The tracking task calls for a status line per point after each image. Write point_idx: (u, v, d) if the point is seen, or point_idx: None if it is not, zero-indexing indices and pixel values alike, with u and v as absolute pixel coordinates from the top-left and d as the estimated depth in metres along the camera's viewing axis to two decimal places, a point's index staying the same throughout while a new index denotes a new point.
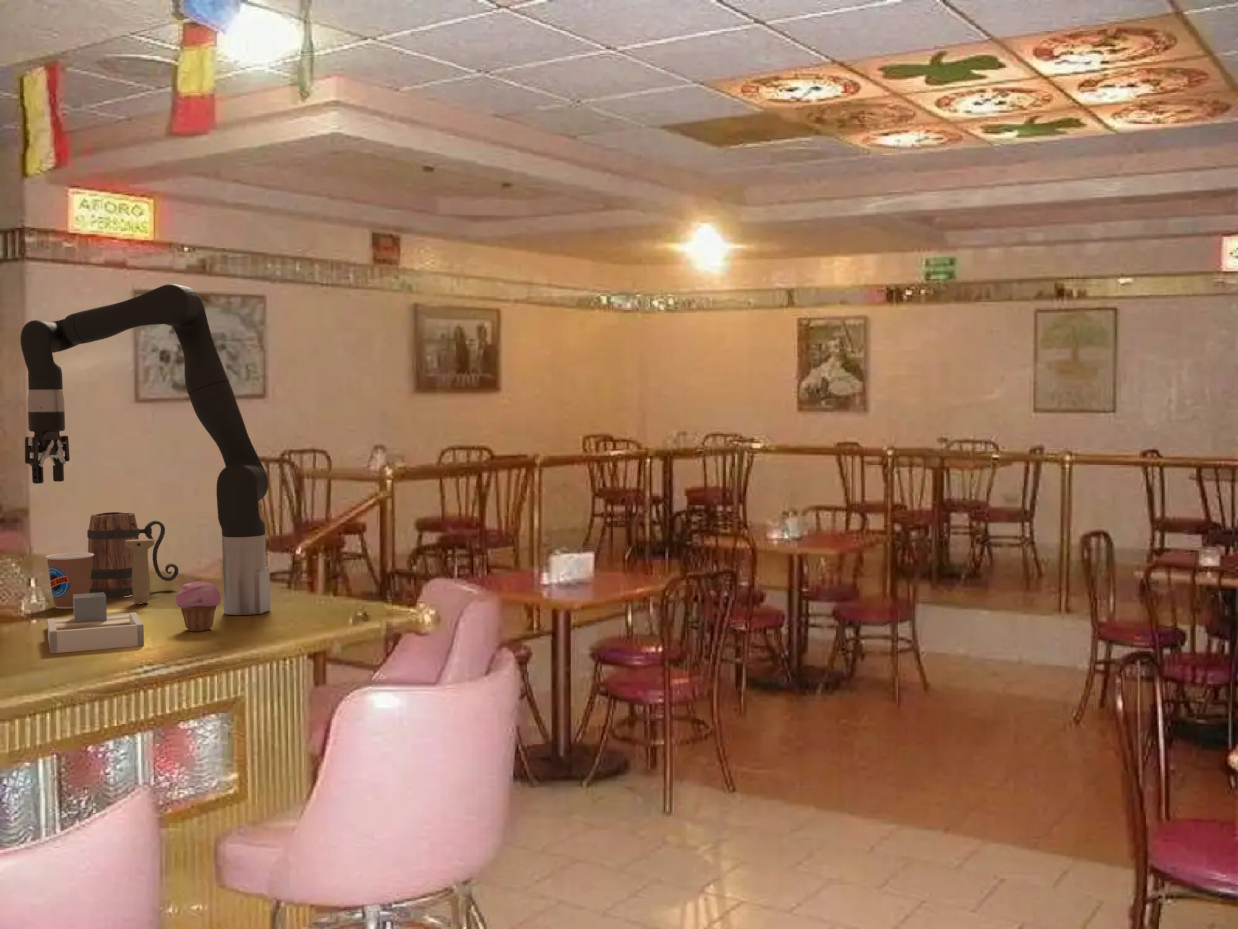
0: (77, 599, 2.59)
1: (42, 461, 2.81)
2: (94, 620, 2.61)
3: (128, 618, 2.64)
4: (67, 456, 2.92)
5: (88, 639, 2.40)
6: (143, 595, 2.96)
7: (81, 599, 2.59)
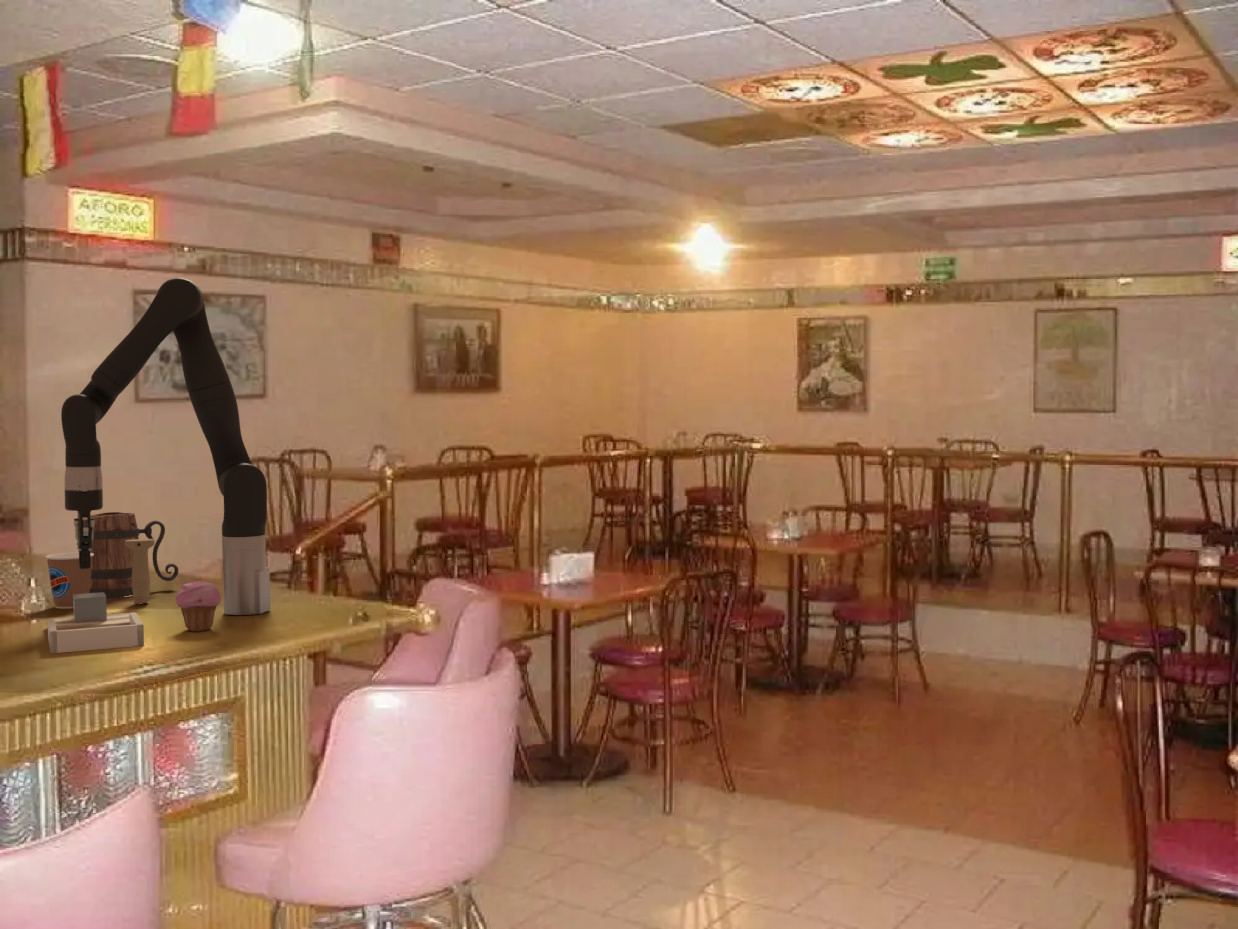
0: (77, 599, 2.59)
1: None
2: (94, 620, 2.61)
3: (128, 618, 2.64)
4: (79, 543, 2.70)
5: (88, 639, 2.40)
6: (143, 595, 2.96)
7: (81, 599, 2.59)
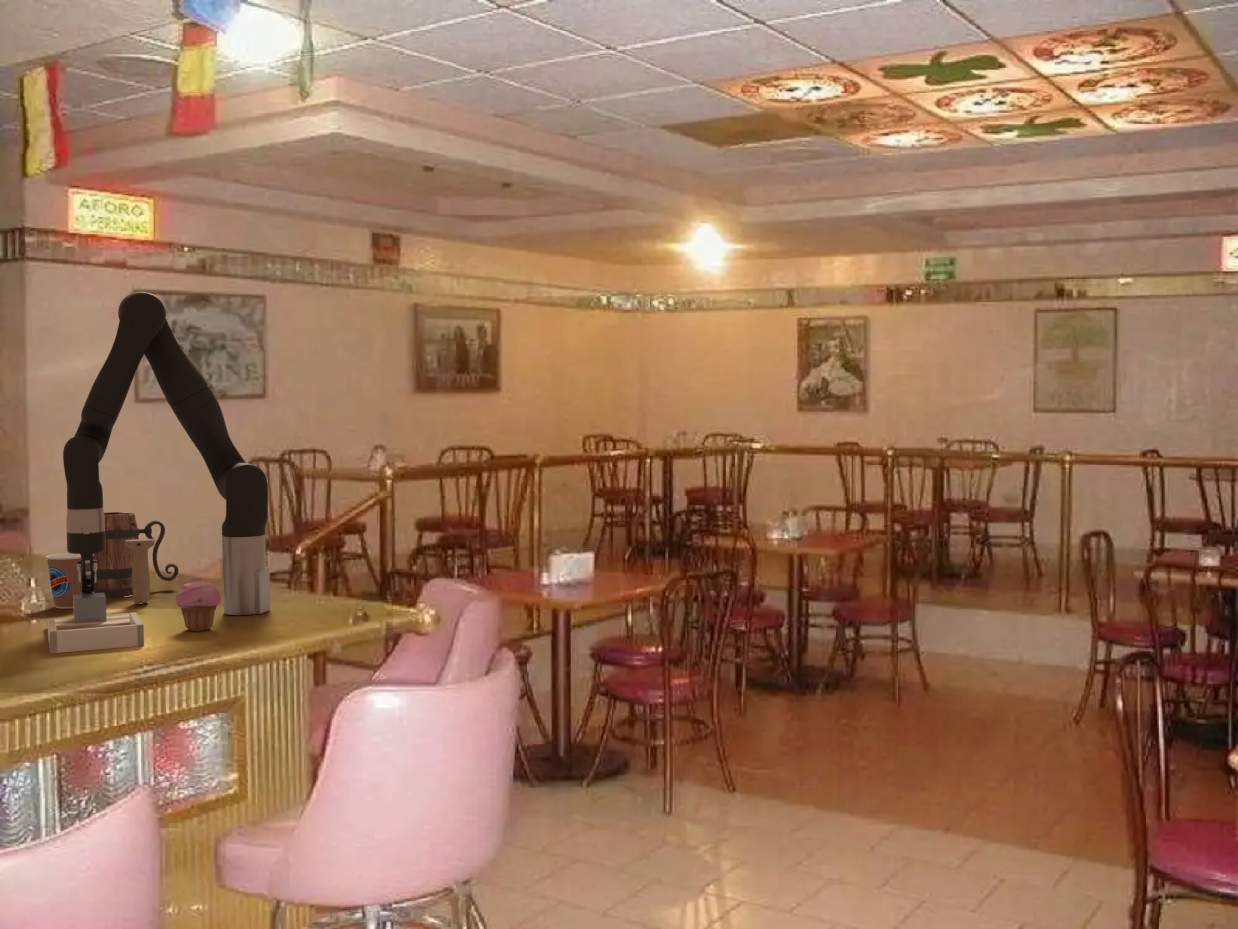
0: (77, 599, 2.59)
1: None
2: (94, 620, 2.60)
3: (128, 618, 2.64)
4: None
5: (88, 639, 2.40)
6: (143, 595, 2.96)
7: (81, 599, 2.59)
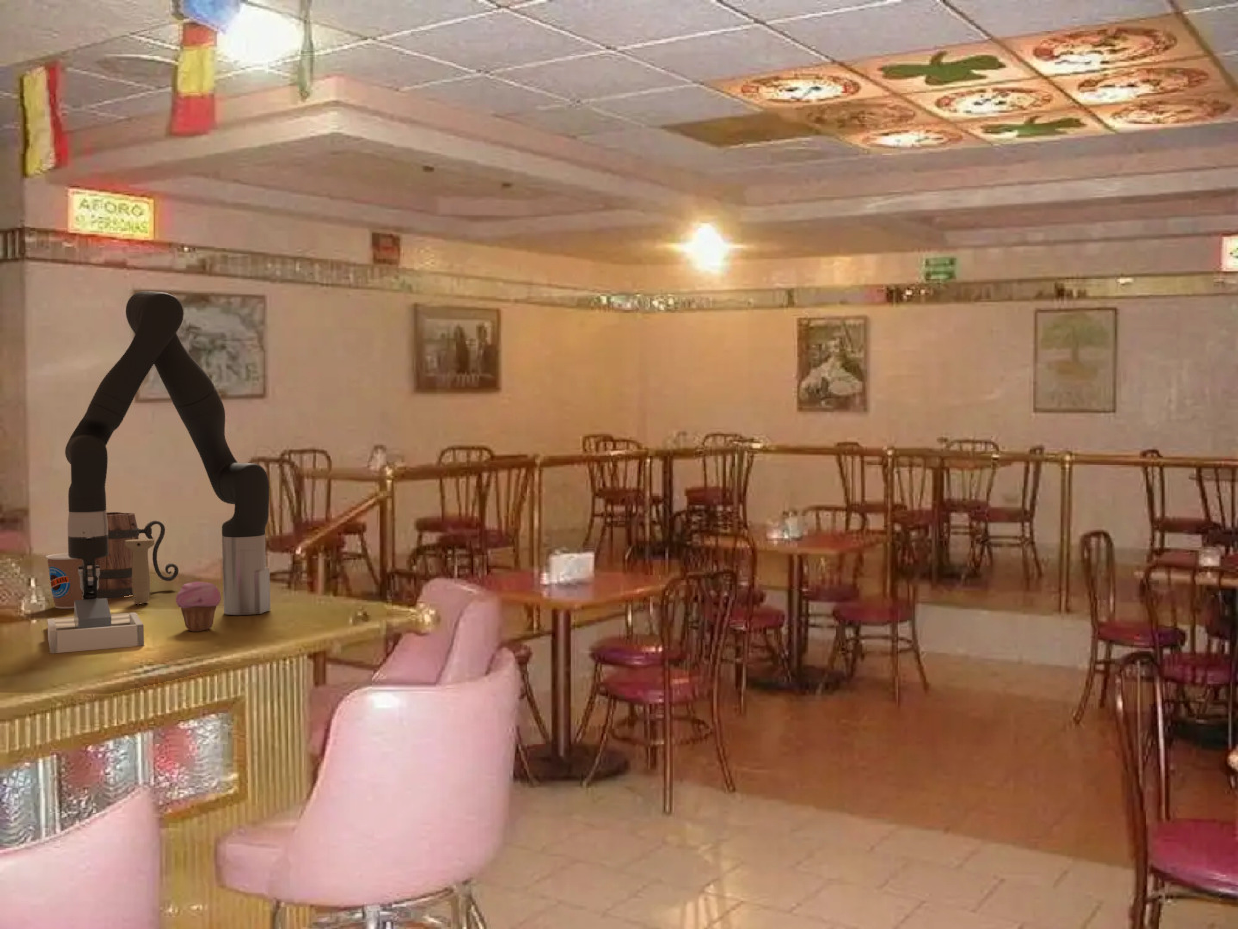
0: (81, 620, 2.48)
1: None
2: None
3: (128, 618, 2.64)
4: None
5: (88, 639, 2.40)
6: (143, 595, 2.96)
7: (85, 620, 2.48)
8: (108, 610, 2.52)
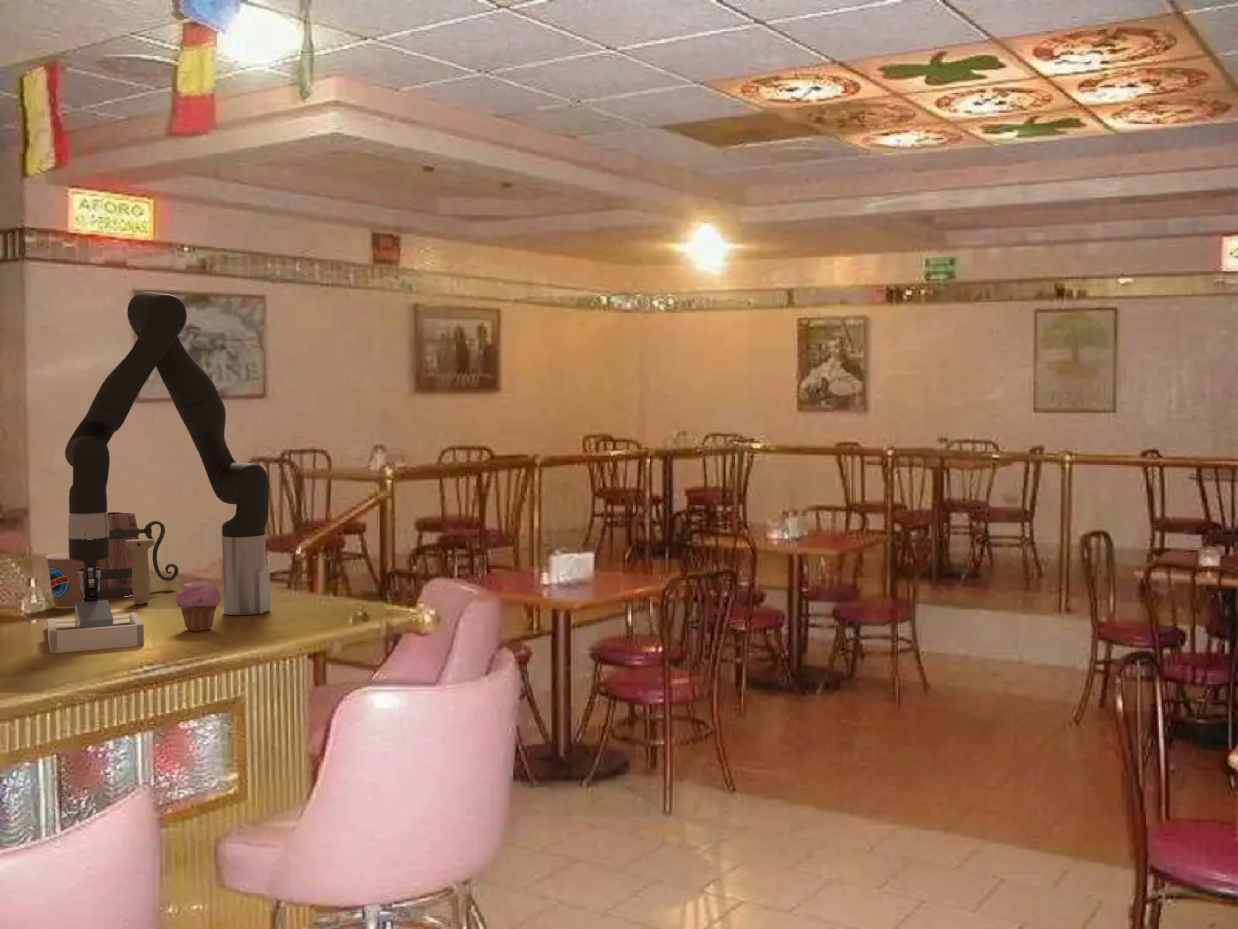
0: (83, 622, 2.46)
1: (83, 596, 2.55)
2: None
3: (128, 618, 2.64)
4: (84, 595, 2.52)
5: (88, 639, 2.40)
6: (143, 595, 2.96)
7: (87, 622, 2.46)
8: (110, 612, 2.50)
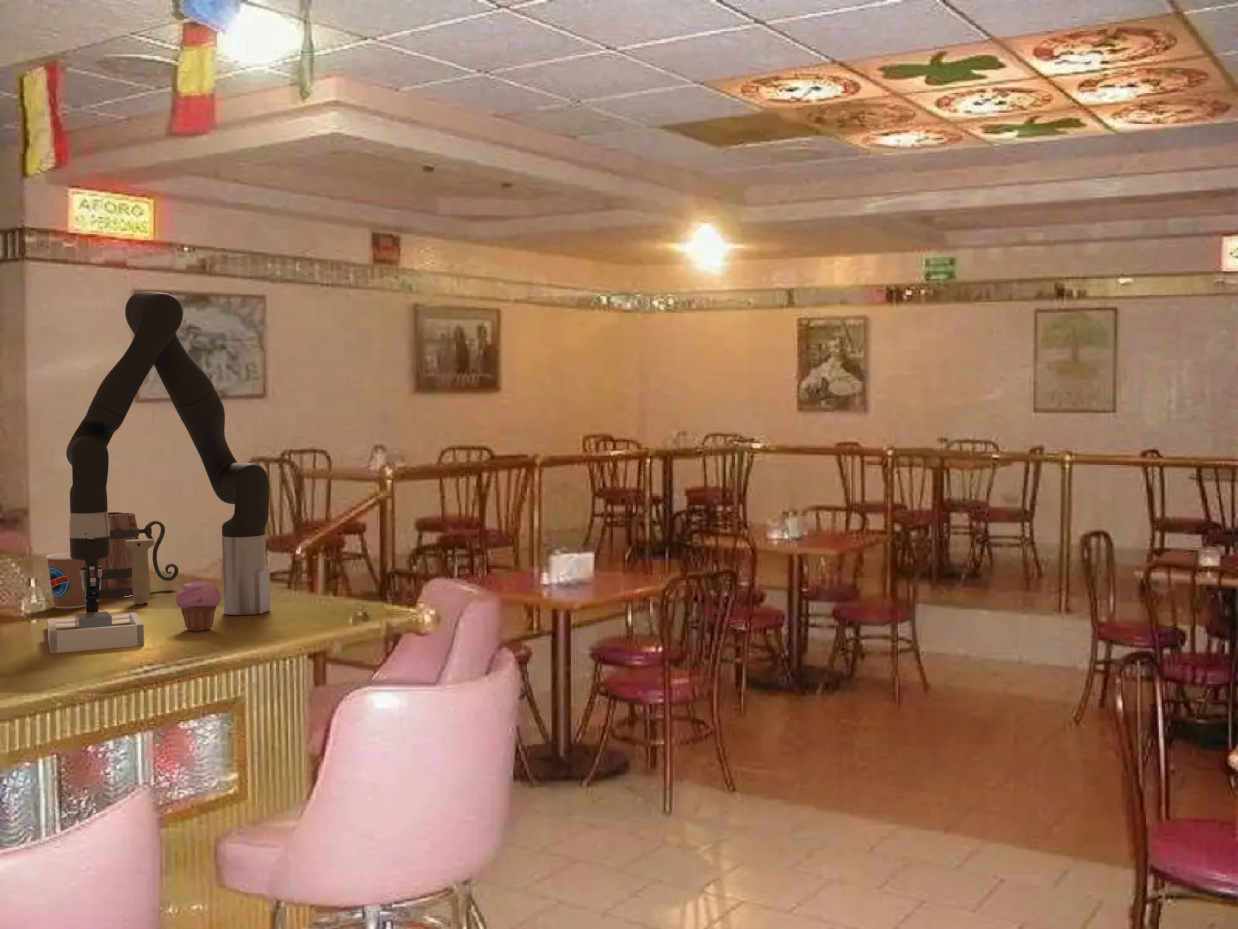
0: (82, 619, 2.47)
1: None
2: None
3: (128, 618, 2.64)
4: None
5: (88, 639, 2.40)
6: (143, 595, 2.96)
7: (86, 619, 2.48)
8: (108, 614, 2.52)
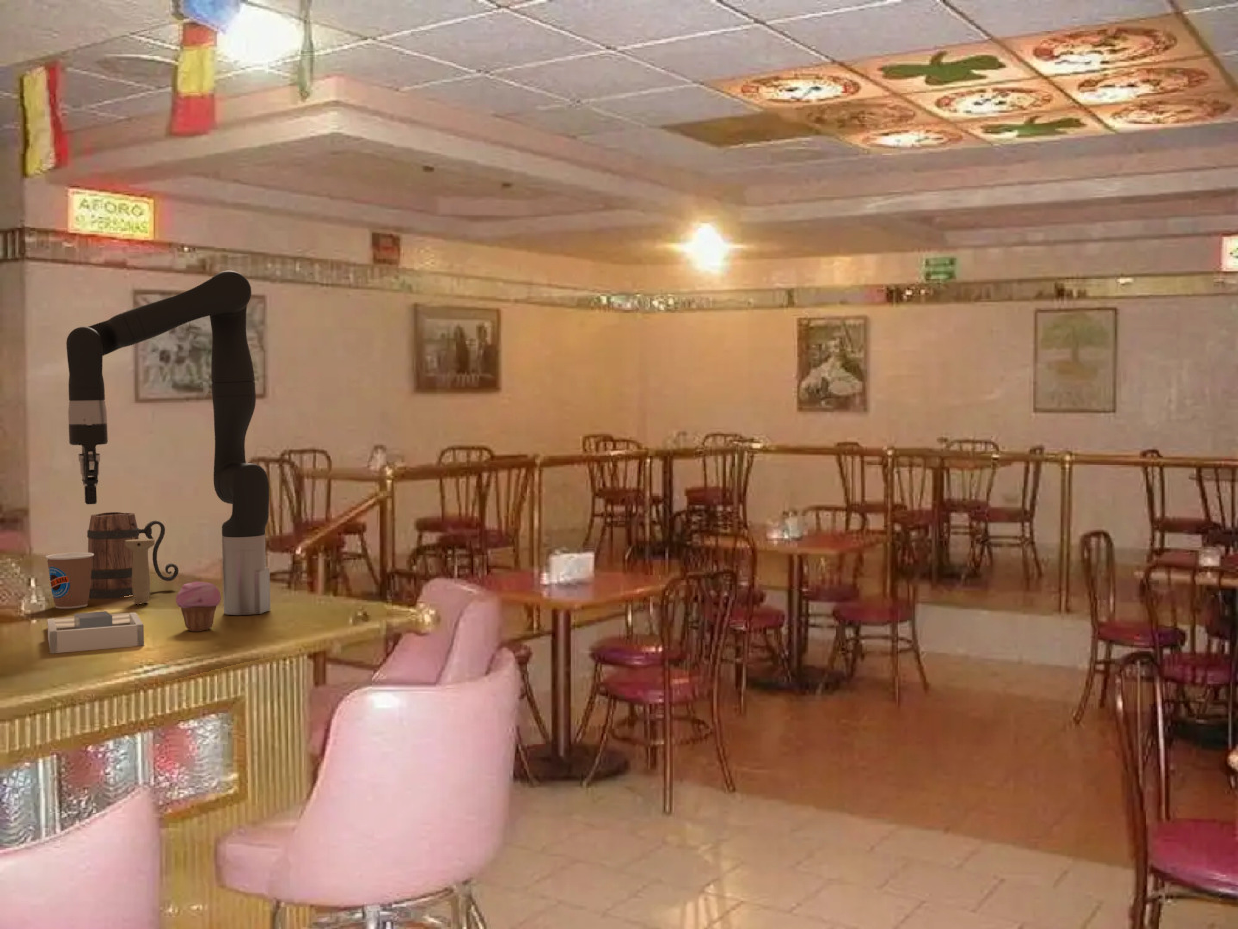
0: (82, 619, 2.47)
1: (83, 480, 2.70)
2: None
3: (128, 618, 2.64)
4: None
5: (88, 639, 2.40)
6: (143, 595, 2.96)
7: (86, 619, 2.48)
8: (108, 614, 2.52)
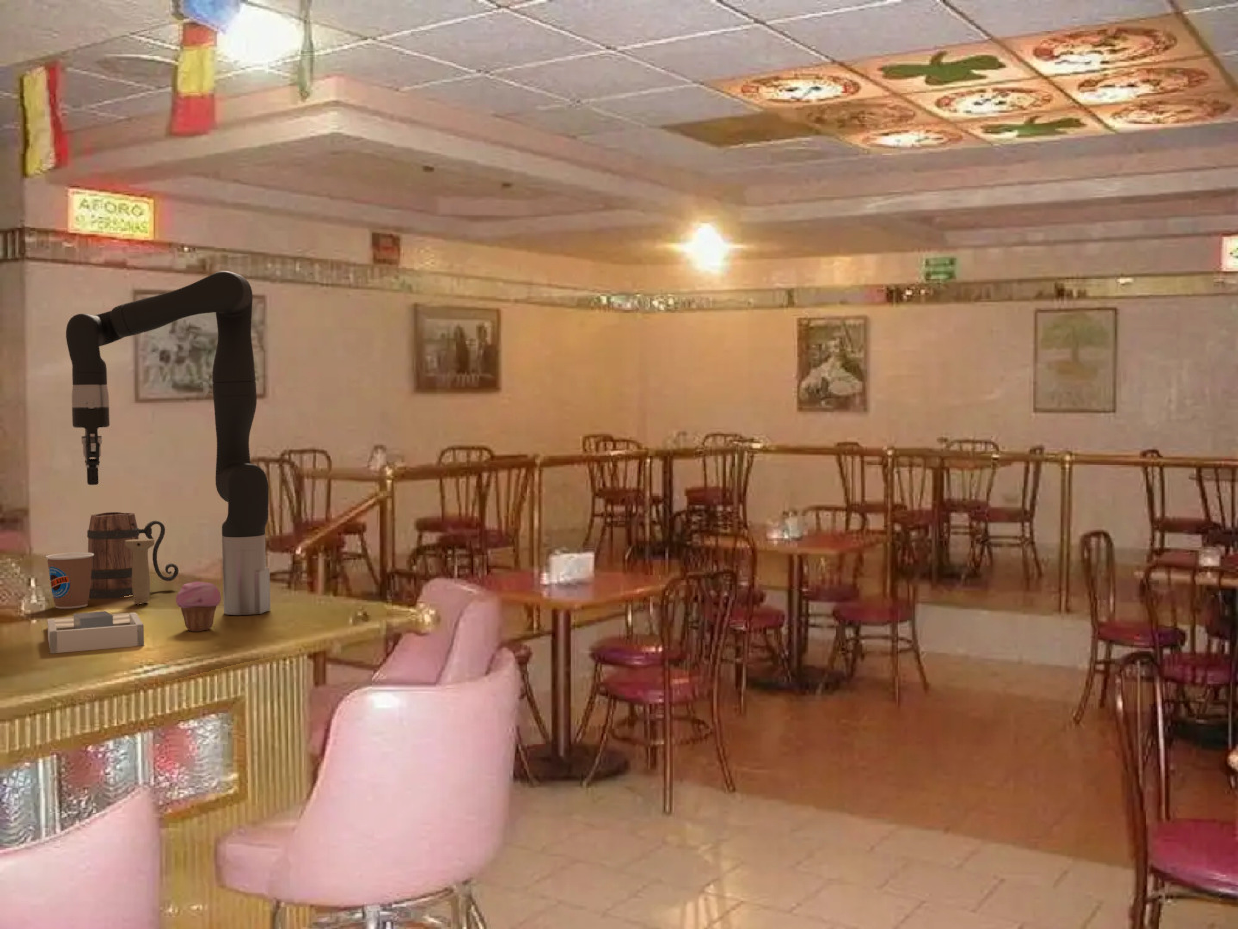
0: (83, 619, 2.47)
1: None
2: None
3: (128, 618, 2.64)
4: None
5: (88, 639, 2.40)
6: (143, 595, 2.96)
7: (87, 619, 2.48)
8: (108, 614, 2.52)
